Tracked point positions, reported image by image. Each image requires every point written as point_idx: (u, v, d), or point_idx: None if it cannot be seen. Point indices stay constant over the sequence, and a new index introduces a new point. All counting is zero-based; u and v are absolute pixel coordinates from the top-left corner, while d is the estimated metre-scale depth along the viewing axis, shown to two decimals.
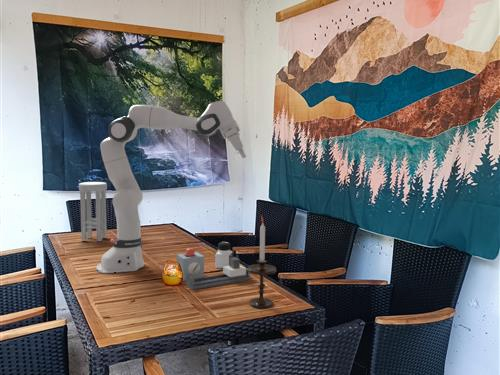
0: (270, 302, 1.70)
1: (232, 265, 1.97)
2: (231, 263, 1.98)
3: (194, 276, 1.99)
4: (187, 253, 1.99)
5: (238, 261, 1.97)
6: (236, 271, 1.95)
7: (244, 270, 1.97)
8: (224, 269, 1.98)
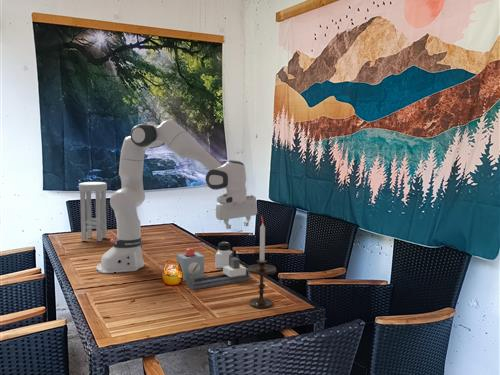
0: (270, 302, 1.70)
1: (232, 265, 1.97)
2: (231, 263, 1.98)
3: (194, 276, 1.99)
4: (187, 253, 1.99)
5: (238, 261, 1.97)
6: (236, 271, 1.95)
7: (244, 270, 1.97)
8: (224, 269, 1.98)
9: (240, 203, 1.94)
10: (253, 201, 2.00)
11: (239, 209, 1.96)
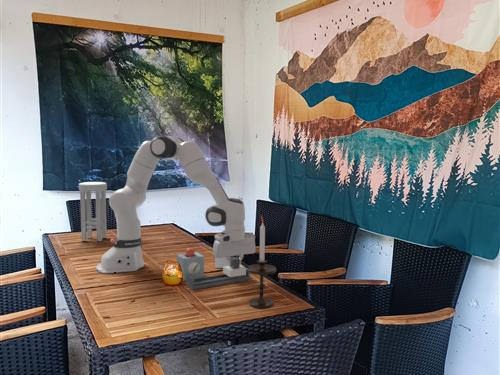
0: (270, 302, 1.70)
1: (232, 265, 1.97)
2: None
3: (194, 276, 1.99)
4: (187, 253, 1.99)
5: (238, 261, 1.97)
6: (236, 271, 1.95)
7: (244, 270, 1.97)
8: (224, 269, 1.98)
9: (237, 242, 1.95)
10: (251, 239, 2.00)
11: (237, 247, 1.96)
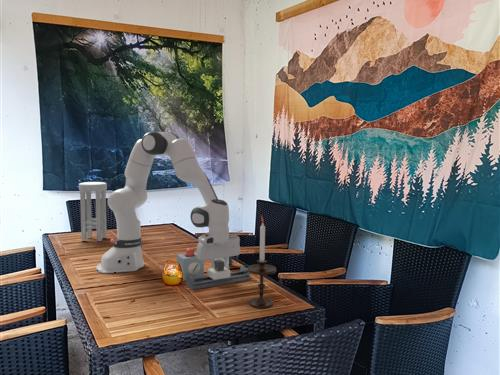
0: (270, 302, 1.70)
1: (216, 268, 1.93)
2: None
3: (194, 276, 1.99)
4: (187, 253, 1.99)
5: (222, 263, 1.93)
6: (220, 273, 1.91)
7: (228, 273, 1.93)
8: (208, 272, 1.95)
9: (221, 244, 1.91)
10: (236, 241, 1.96)
11: (221, 249, 1.92)
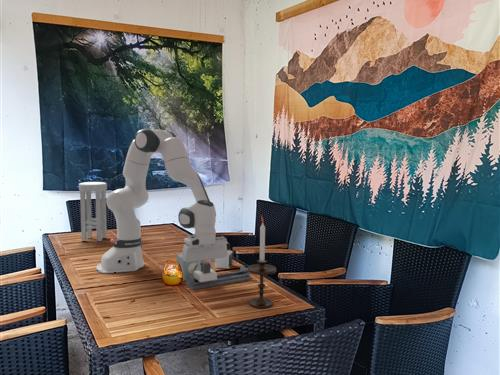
0: (270, 302, 1.70)
1: (203, 270, 1.89)
2: None
3: None
4: None
5: (209, 265, 1.90)
6: (206, 275, 1.88)
7: (215, 275, 1.90)
8: (194, 274, 1.91)
9: (208, 245, 1.87)
10: (223, 243, 1.92)
11: (207, 251, 1.89)
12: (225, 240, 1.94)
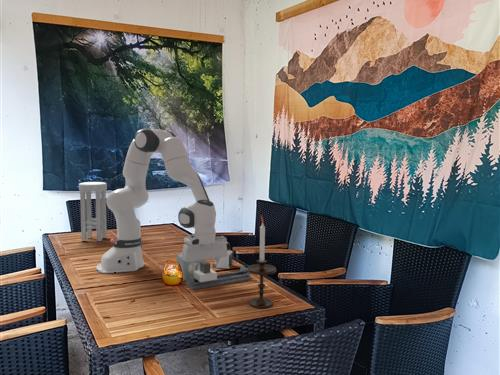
0: (270, 302, 1.70)
1: (203, 270, 1.89)
2: (201, 267, 1.90)
3: None
4: None
5: (209, 265, 1.90)
6: (206, 275, 1.88)
7: (215, 275, 1.90)
8: (194, 274, 1.91)
9: (208, 245, 1.87)
10: (223, 242, 1.92)
11: (207, 251, 1.89)
12: (225, 240, 1.94)
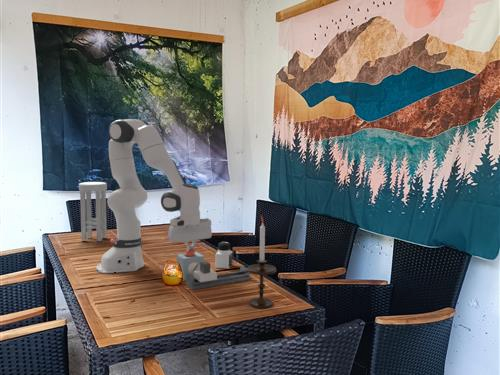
0: (270, 302, 1.70)
1: (203, 270, 1.89)
2: (201, 267, 1.90)
3: None
4: (187, 254, 1.99)
5: (209, 265, 1.90)
6: (206, 275, 1.88)
7: (215, 275, 1.90)
8: (194, 274, 1.91)
9: (192, 226, 1.97)
10: (207, 224, 2.02)
11: (192, 232, 1.98)
12: (209, 222, 2.04)
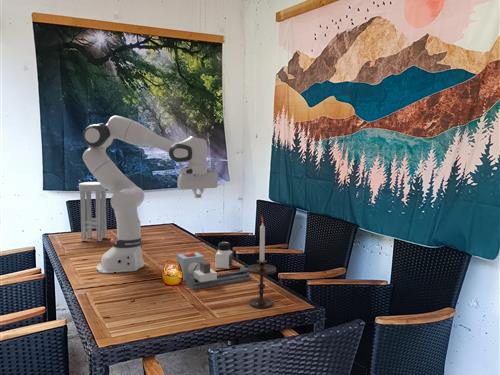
0: (270, 302, 1.70)
1: (203, 270, 1.89)
2: (201, 267, 1.90)
3: None
4: None
5: (209, 265, 1.90)
6: (206, 275, 1.88)
7: (215, 275, 1.90)
8: (194, 274, 1.91)
9: (200, 175, 2.11)
10: (214, 174, 2.17)
11: (200, 181, 2.13)
12: (216, 173, 2.19)
